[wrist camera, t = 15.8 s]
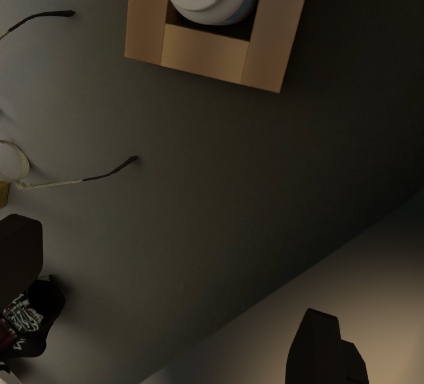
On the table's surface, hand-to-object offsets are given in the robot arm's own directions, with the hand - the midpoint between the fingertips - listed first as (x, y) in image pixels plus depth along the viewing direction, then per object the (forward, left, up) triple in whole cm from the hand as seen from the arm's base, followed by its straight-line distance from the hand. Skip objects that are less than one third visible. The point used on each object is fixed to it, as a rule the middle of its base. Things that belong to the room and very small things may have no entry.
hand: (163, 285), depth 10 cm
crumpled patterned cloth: (+25, +33, -28) cm, 50 cm away
